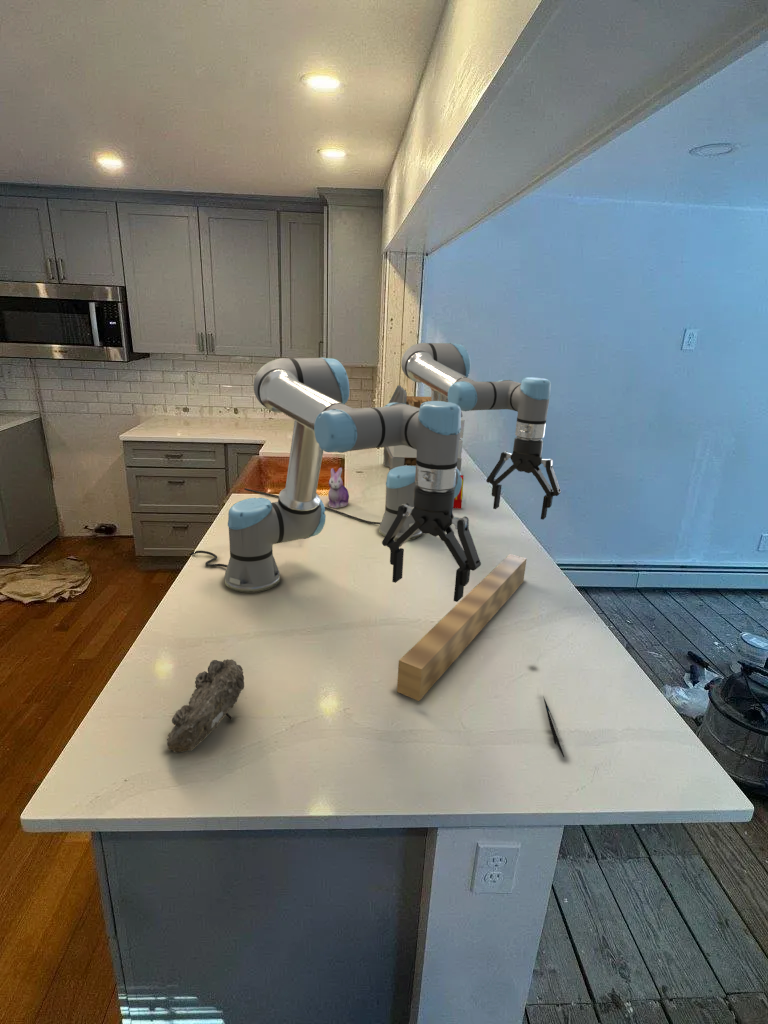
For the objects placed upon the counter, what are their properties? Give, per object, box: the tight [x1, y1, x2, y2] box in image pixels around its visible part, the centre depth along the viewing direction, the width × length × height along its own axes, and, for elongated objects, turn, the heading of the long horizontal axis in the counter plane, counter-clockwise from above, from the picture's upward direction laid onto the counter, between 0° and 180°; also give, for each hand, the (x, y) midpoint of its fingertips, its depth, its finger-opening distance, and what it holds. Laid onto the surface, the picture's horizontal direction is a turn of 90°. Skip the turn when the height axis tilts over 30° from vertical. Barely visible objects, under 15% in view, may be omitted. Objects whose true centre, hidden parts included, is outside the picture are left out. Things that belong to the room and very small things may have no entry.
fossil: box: [166, 658, 245, 754], centre depth 106 cm, size 22×10×15 cm
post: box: [396, 553, 528, 702], centre depth 142 cm, size 66×5×8 cm, turn 149°
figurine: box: [327, 467, 350, 509], centre depth 223 cm, size 9×10×15 cm
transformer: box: [383, 384, 465, 474], centre depth 268 cm, size 34×33×41 cm
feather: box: [533, 666, 565, 758], centre depth 114 cm, size 2×28×2 cm
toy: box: [453, 474, 465, 510], centre depth 239 cm, size 12×13×30 cm
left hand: (426, 589), depth 112 cm, fingers open, 13 cm apart
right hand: (519, 512), depth 158 cm, fingers open, 13 cm apart
